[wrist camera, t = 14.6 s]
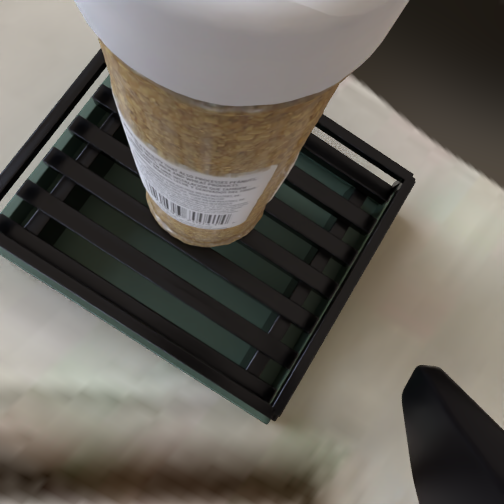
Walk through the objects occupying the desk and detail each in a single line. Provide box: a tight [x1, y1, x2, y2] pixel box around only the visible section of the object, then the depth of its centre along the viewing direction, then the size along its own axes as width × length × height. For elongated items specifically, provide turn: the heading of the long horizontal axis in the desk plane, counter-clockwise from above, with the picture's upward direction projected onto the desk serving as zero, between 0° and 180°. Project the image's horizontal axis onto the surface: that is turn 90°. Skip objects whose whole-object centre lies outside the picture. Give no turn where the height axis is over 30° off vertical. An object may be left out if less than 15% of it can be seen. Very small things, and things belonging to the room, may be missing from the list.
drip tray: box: [0, 74, 394, 424], centre depth 20 cm, size 13×11×2 cm
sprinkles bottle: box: [74, 0, 409, 247], centre depth 11 cm, size 5×5×13 cm
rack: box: [0, 49, 415, 421], centre depth 18 cm, size 12×10×4 cm
